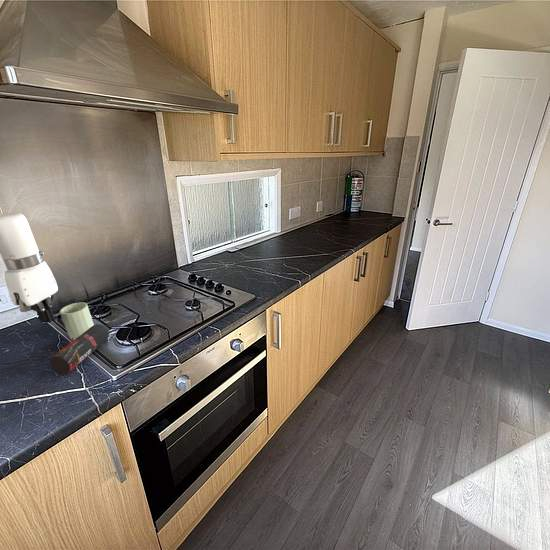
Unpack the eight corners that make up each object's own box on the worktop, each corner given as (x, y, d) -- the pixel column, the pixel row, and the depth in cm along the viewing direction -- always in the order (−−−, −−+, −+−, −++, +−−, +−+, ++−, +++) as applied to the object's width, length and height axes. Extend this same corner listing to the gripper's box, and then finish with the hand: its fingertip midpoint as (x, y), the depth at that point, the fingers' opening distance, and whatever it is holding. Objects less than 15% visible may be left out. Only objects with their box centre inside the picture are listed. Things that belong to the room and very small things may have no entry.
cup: (63, 338, 94) (53, 313, 90) (81, 326, 100) (72, 301, 97) (83, 340, 92) (74, 314, 89) (100, 327, 99) (92, 303, 95)
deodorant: (73, 365, 77) (111, 332, 90) (53, 352, 76) (94, 321, 90) (66, 377, 79) (105, 343, 93) (47, 365, 78) (88, 332, 92)
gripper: (37, 251, 84) (59, 307, 92) (-19, 272, 71) (12, 335, 78) (60, 252, 83) (79, 308, 90) (7, 273, 69) (36, 337, 77)
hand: (48, 320), depth 84 cm, fingers closed
